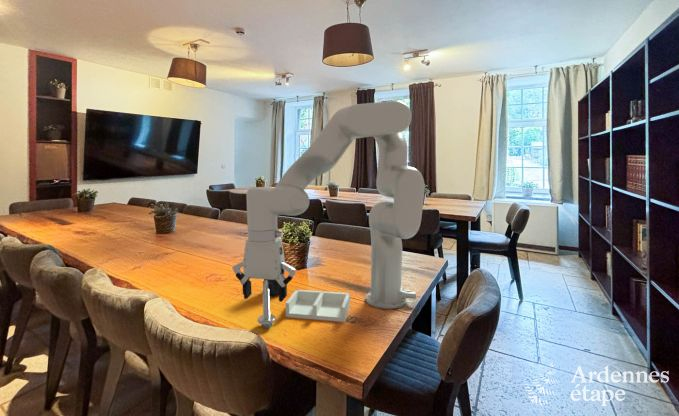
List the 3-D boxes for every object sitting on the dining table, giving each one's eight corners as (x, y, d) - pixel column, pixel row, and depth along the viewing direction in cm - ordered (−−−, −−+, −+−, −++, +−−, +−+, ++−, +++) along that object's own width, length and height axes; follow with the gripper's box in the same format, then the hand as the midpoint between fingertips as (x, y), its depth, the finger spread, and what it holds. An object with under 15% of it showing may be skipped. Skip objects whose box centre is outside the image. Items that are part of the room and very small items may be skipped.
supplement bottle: (273, 287, 117) (272, 254, 115) (289, 291, 113) (288, 257, 112) (259, 294, 111) (258, 259, 109) (275, 298, 108) (274, 262, 106)
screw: (279, 323, 91) (269, 332, 87) (264, 320, 93) (253, 328, 88) (278, 278, 89) (267, 284, 85) (262, 275, 91) (252, 281, 87)
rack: (350, 306, 102) (350, 293, 101) (344, 322, 92) (344, 307, 91) (296, 302, 105) (296, 289, 104) (285, 317, 95) (285, 303, 94)
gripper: (299, 233, 88) (300, 295, 91) (238, 230, 91) (241, 290, 94) (290, 240, 81) (291, 306, 83) (224, 237, 84) (227, 301, 86)
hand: (264, 298), depth 89 cm, fingers open, 9 cm apart
